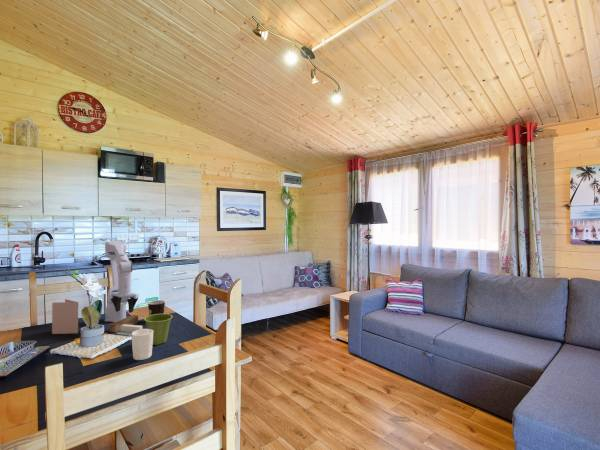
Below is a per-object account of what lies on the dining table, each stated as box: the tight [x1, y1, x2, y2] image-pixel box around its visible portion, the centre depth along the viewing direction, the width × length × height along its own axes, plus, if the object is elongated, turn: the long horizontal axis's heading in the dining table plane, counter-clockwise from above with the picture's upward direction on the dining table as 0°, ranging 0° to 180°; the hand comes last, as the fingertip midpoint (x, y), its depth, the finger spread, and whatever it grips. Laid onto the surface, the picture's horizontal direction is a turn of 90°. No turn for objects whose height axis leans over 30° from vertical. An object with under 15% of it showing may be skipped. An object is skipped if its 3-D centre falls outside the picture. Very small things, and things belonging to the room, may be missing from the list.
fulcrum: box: [115, 324, 144, 337], centre depth 157 cm, size 10×9×3 cm
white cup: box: [131, 328, 153, 361], centre depth 129 cm, size 8×8×10 cm
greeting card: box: [51, 299, 80, 335], centre depth 154 cm, size 11×7×15 cm, turn 63°
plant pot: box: [143, 313, 173, 346], centre depth 145 cm, size 12×12×11 cm
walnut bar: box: [108, 314, 139, 333], centre depth 164 cm, size 4×16×4 cm, turn 169°
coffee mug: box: [147, 299, 166, 316], centre depth 174 cm, size 12×9×10 cm
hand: (124, 311), depth 164 cm, fingers open, 7 cm apart
